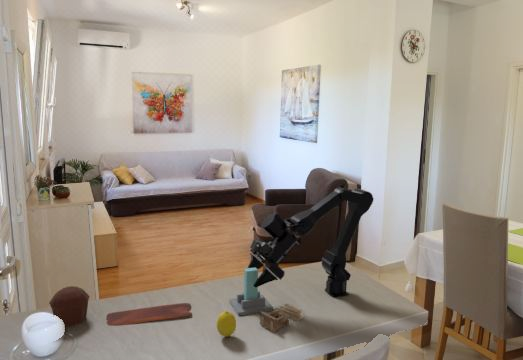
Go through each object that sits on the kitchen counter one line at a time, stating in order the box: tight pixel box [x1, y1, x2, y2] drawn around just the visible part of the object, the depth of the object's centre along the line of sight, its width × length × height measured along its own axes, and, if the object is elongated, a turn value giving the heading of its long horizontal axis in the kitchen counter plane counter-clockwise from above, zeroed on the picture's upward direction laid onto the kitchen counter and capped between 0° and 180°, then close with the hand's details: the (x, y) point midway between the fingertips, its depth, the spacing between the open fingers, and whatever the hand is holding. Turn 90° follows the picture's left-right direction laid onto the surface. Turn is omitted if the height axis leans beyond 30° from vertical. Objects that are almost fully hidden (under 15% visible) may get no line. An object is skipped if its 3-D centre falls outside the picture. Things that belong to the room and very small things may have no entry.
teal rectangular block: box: [243, 267, 259, 300], centre depth 140 cm, size 4×2×12 cm, turn 110°
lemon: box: [216, 310, 237, 338], centre depth 122 cm, size 6×6×8 cm
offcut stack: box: [277, 303, 304, 322], centre depth 136 cm, size 3×8×3 cm, turn 50°
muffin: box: [48, 285, 90, 328], centre depth 130 cm, size 12×11×10 cm
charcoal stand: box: [229, 290, 274, 316], centre depth 141 cm, size 12×10×4 cm
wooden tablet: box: [105, 302, 193, 327], centre depth 134 cm, size 27×10×2 cm, turn 105°
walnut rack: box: [259, 308, 290, 333], centre depth 129 cm, size 7×6×4 cm
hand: (249, 281), depth 140 cm, fingers open, 9 cm apart
